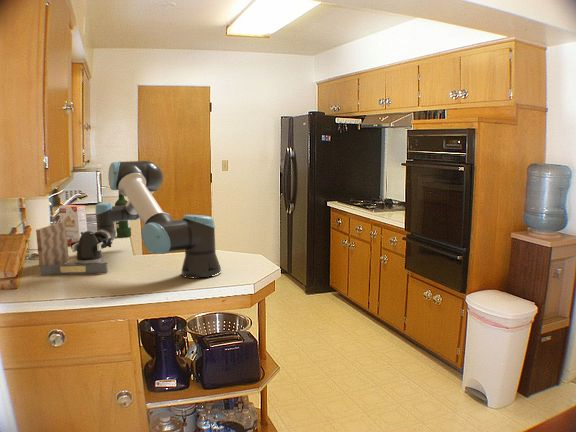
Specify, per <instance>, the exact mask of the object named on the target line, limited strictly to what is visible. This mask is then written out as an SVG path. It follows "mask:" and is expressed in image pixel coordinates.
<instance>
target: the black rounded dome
mask: <svg viewBox="0 0 576 432" xmlns="http://www.w3.org/2000/svg"><path fill="white" fill-rule="evenodd" d="M94 233H95V232H93V231H90V230H87V231H86V232H84V233H83V232H81V237H80V239H79V243H78V248H77V251H76V260H77V261H78V264H86V263H102V258H103V252H102V249H101V250H100V251H97V244H99V242H98V239H97V237H96V236H95V234H94Z"/></svg>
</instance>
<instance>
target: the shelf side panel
mask: <svg viewBox="0 0 576 432" xmlns="http://www.w3.org/2000/svg"><path fill="white" fill-rule="evenodd" d="M35 232H36V244H37V256H38V265H39V274H40V275H41V268H40V266H41V265H51V264H67V262H69V261H70V260H69V257H70V256H69V248H68V247H69V246H68V245H69V244H67V233H66V221H64V222H60V221H59V222H57V223H53V224H50V225H47V226H44V227H41V228H38V229H36V230H35Z"/></svg>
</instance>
